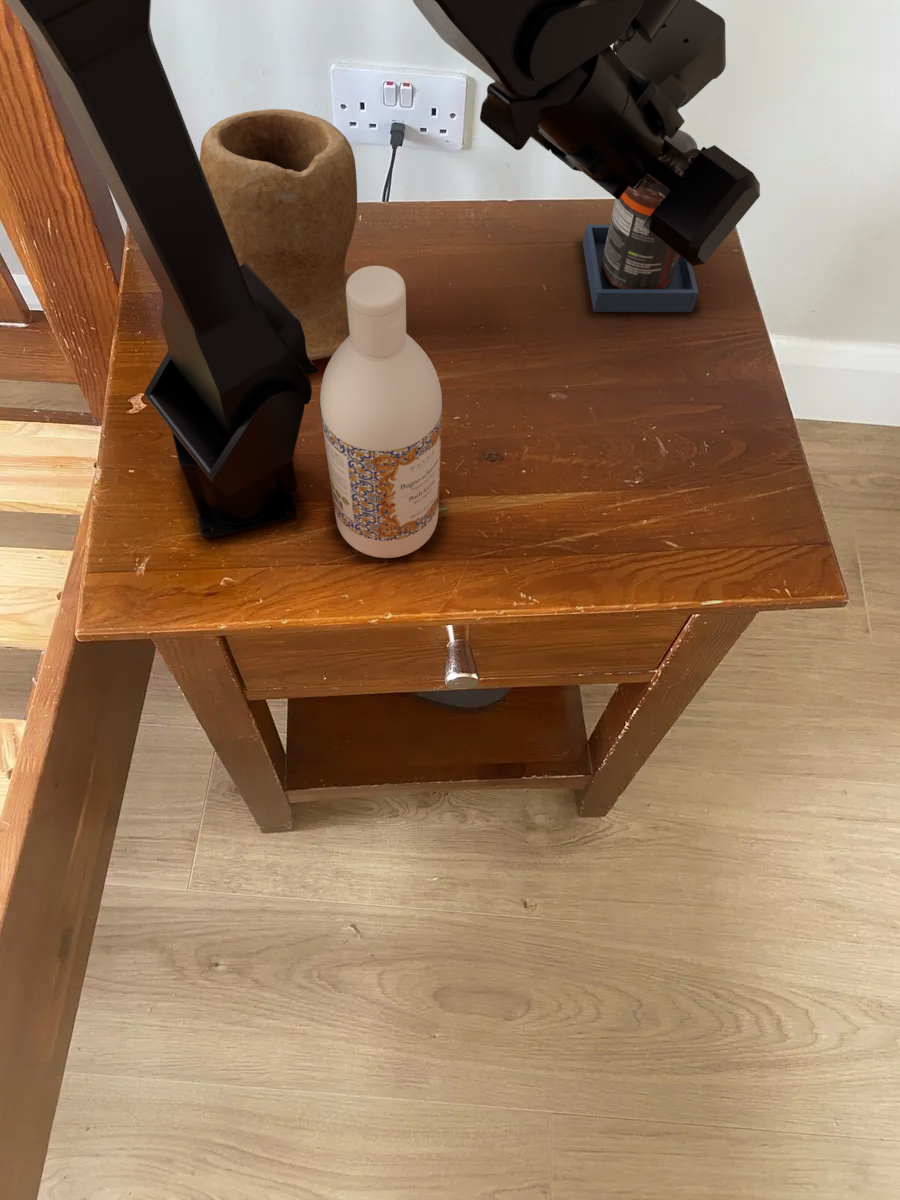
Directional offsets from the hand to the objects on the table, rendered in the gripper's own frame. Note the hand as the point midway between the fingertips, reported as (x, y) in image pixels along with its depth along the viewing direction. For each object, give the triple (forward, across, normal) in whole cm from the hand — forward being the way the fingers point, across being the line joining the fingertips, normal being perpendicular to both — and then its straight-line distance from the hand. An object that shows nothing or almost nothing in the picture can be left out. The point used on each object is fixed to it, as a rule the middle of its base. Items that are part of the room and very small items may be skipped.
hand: (668, 195), depth 67 cm
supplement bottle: (+4, 0, +6) cm, 7 cm away
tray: (+4, 0, +6) cm, 7 cm away
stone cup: (-14, +12, +25) cm, 31 cm away
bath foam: (-17, -8, +28) cm, 33 cm away
